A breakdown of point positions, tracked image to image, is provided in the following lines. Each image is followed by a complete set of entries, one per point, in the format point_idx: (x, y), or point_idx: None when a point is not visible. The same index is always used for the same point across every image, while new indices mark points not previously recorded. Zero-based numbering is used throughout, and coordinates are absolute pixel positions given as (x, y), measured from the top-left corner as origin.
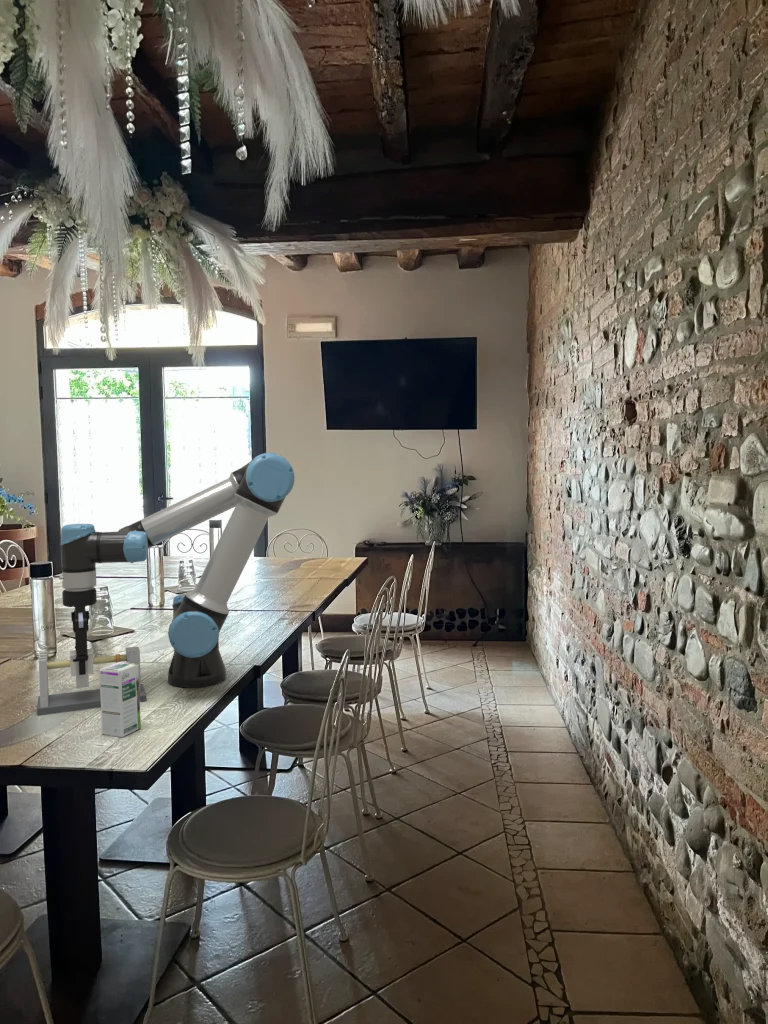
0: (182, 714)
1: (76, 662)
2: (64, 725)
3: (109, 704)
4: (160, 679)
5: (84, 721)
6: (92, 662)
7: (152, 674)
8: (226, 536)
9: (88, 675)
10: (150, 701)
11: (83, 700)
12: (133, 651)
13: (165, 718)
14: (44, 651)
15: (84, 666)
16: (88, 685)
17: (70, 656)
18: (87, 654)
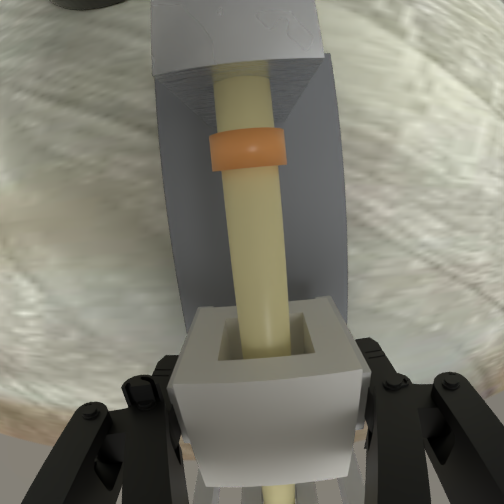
0: (469, 7)
1: (362, 420)
2: (454, 319)
3: None
4: (66, 38)
5: (452, 270)
6: (342, 335)
7: (9, 80)
8: None
9: (343, 320)
10: (331, 49)
11: (314, 295)
12: (312, 8)
13: (490, 51)
14: None
15: (389, 366)
16: (331, 299)
17: (346, 471)
18: (475, 392)
